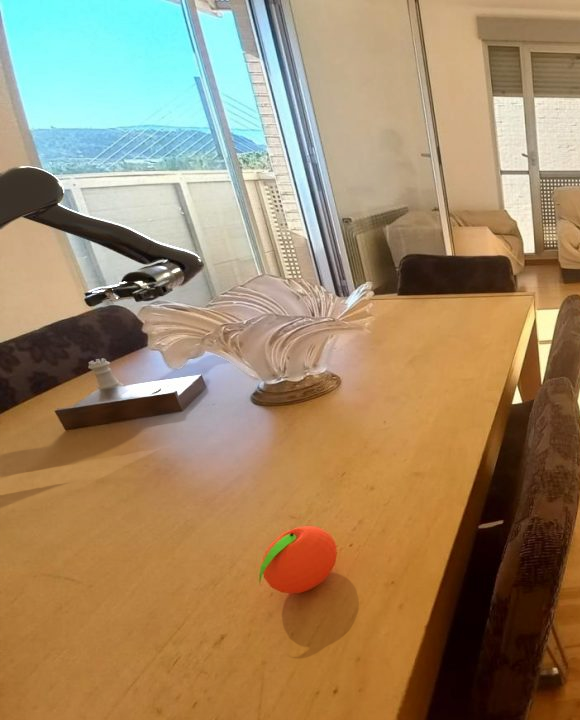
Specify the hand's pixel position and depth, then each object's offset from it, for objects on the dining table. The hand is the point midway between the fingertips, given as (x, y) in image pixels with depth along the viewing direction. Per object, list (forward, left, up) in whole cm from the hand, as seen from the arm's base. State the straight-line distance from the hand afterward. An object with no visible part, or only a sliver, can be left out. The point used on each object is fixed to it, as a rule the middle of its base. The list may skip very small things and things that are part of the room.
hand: (112, 299), depth 106 cm
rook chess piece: (-1, -12, -18) cm, 22 cm away
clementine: (+50, -87, -18) cm, 102 cm away
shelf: (+8, -22, -18) cm, 30 cm away
